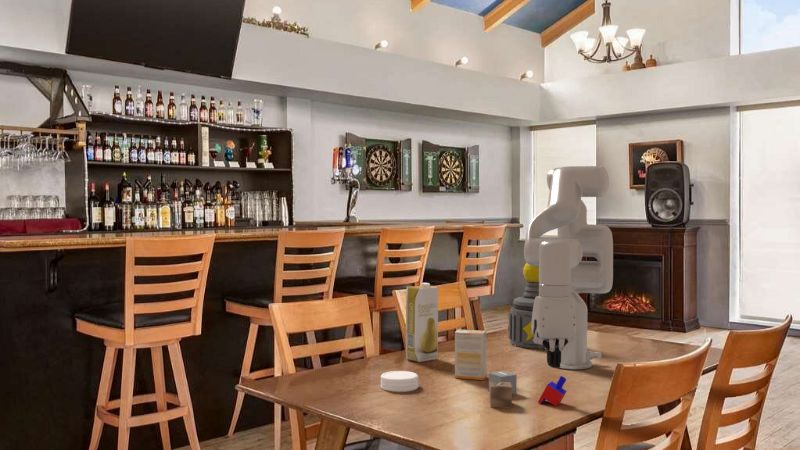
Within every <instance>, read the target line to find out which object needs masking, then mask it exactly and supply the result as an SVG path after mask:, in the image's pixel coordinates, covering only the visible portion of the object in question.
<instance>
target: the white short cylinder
mask: <svg viewBox="0 0 800 450" xmlns="http://www.w3.org/2000/svg"><path fill="white" fill-rule="evenodd" d="M380 388H381V390H385V391H387V392H394V393H406V392H413V391H416V390H417V389H419V375H418V374H417V373H416V372H413V371H408V370H392V371H386V372H383V373H382V374H381V375H380Z"/></svg>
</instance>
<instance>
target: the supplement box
mask: <svg viewBox="0 0 800 450" xmlns="http://www.w3.org/2000/svg"><path fill="white" fill-rule="evenodd" d="M487 366H488V365H487V330H480V329H479V330H477V329H476V330H475V329H474V330H473V329H457V330H456V331H454V378H455V379H462V380H463V379H465V380H474V381H475V380H476V381H484V380H485V379H486V378H487V374H488V373H487V368H488V367H487Z"/></svg>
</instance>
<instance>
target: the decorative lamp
mask: <svg viewBox="0 0 800 450" xmlns="http://www.w3.org/2000/svg"><path fill="white" fill-rule="evenodd" d="M522 274H523V276H524V277H523V278H524V279H525V280H526V282H525V283H526V284H525V285H526V286H525V287H524V292H523V295H522V296H517V297H516V298H514V299H513V301H512V304H513V306H512V307H511V308H510V311H509V312H508V314H507V316H508V325H507V330H508V339H509V343H510V344H511V345H512V344H513V345H512V346H514V345H516V346H515V347H517V346H520V347H519V348H522V347H525V348H524V349H529V348H535V349H534V350H546V349H545V347H544V346H543V345H541V344H537V343H534V342H533V339H534V335H532V332H531V324H532V313H533V306H534V301H535V297H536V296H539V267H534V266H530V265H529V264H527V262H525V264H524V266H523V268H522ZM553 340H555V339H553Z"/></svg>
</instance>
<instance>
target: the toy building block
mask: <svg viewBox="0 0 800 450" xmlns="http://www.w3.org/2000/svg"><path fill="white" fill-rule="evenodd" d="M566 381H567V378H566V377H564V376H559V378H558V380H557V382H556V383H555V382H554V381H550V382H548V384H546V386H545V388H544V390H543V391H542V394H541V395H540V397H539V398H538V400H537V403H538V404H540V405H541V404H543V403H544V402H546V401H547V402H549V403H550V404H552V405H553V406H555V407H557V406H558V405H559V404H561V403H562V400H563V399H564V398H565V395H566V394H567V390H566V389H564V388H563V386H564V384H565V383H566Z"/></svg>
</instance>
